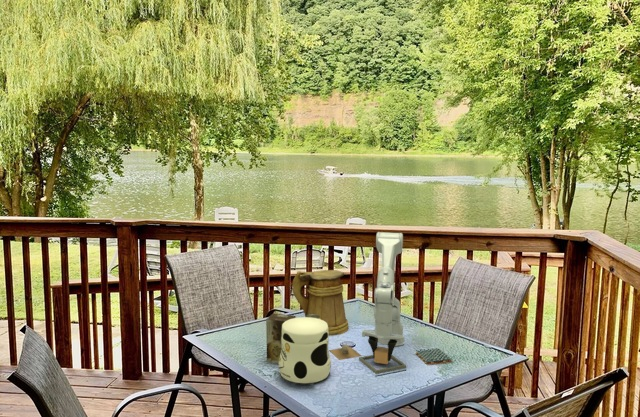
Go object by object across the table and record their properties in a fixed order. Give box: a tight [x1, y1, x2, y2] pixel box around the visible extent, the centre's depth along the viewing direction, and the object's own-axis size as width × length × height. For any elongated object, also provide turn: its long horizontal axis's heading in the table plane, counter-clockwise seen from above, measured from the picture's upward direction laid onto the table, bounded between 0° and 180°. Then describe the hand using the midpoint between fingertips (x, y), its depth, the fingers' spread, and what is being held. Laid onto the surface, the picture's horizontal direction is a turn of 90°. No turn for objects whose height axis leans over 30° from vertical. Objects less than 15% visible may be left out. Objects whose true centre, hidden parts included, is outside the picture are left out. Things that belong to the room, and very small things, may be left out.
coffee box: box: [265, 313, 297, 365], centre depth 182 cm, size 9×6×16 cm
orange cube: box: [373, 345, 390, 365], centre depth 178 cm, size 4×4×4 cm
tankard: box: [291, 269, 350, 337], centre depth 211 cm, size 18×24×25 cm
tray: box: [358, 354, 407, 377], centre depth 179 cm, size 12×12×2 cm
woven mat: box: [414, 347, 453, 366], centre depth 186 cm, size 10×11×2 cm
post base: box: [328, 344, 362, 361], centre depth 187 cm, size 9×9×4 cm
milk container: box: [278, 316, 332, 386], centre depth 169 cm, size 17×17×18 cm
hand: (382, 358), depth 179 cm, fingers closed on orange cube, 4 cm apart
